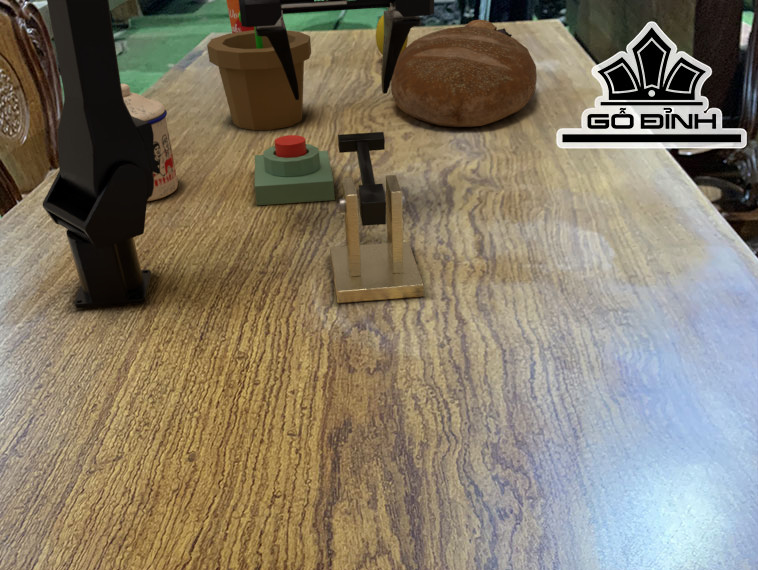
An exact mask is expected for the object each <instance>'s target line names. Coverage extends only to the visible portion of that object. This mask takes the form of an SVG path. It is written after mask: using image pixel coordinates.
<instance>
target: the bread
mask: <svg viewBox="0 0 758 570" xmlns="http://www.w3.org/2000/svg"><path fill="white" fill-rule="evenodd" d="M537 80H538V77H537V65H536V62H535V61H534V59H533V57H532V55H531V53H530V52H529V49H528V48H527V47H526V46H525V45H523V44H522V43H521V42H520V41H518V40H517V39H515V38H514V37H513V36H511V37H510V36H508V35H506V34H504V33H502V32H500V31H496V30H492V29H488V28H483V27H474V26H470V27H464V26H457V27H456V26H455V27H447V28H443V29H440V30H436V31H433V32H430V33H428V34H425V35H423V36H421V37H419V38H417V39H414V40H412V42H411V43H409V44H407V46H406V48H405V49H404V50H403V51H402V52H401V53H400V55H399V57H398V60H397V63H396V67H395V70H394V73H393V76H392V79H391V82H390V90H391V95H392V97H393V100H394V102H395V103H396V105H397V107H398V108H399V109H400V110H401V111H402V112H404V113H405V114H406V115H409V116H410V117H413V118H414V119H417V120H420V121H423V122H426V123H428V124H432V125H435V126H439V127H450V128H473V127H481V126H486V125H490V124H492V123H496V122H498V121H500V120H503V119H505V118H507V117H509V116H511V115H513V114H515V113H517V112H519V111H522V109H523V108H525V107H526V106H527V104H528V103H529V101H531V99H532V97H533V96H534V94H535V93H536V88H537Z"/></svg>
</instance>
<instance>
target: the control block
mask: <svg viewBox="0 0 758 570" xmlns="http://www.w3.org/2000/svg"><path fill="white" fill-rule="evenodd" d="M306 152H307V154H306V155H304V156H300V157H294V158H283V157H278V156H276V150H275V145H273V146H270V147H268V148H267V149H265V150H264V151H263V154H256V155H254V193H255V201H256V206H267V205H268V206H269V205H270V206H271V205H282V204H283V205H284V204H298V203H299V204H300V203H313V202H325V201H327V202H328V201H335V184H334V177H333V171H332V166H331V162H330V161H331V160H330V156H329V151H328V150H319V147H317V146H314V145H313V144H310V143H306Z"/></svg>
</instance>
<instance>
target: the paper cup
mask: <svg viewBox="0 0 758 570" xmlns="http://www.w3.org/2000/svg"><path fill="white" fill-rule="evenodd" d="M225 1H226V6H227V12H228V19H229V23H230V28H231V33H236V32H244V31H251V30H254V27H243V26H242V25H241V22H240V20H239V12H240V9H239V0H225Z"/></svg>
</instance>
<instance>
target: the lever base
mask: <svg viewBox="0 0 758 570" xmlns="http://www.w3.org/2000/svg"><path fill="white" fill-rule="evenodd" d="M341 181H342V182H341V183H342V198H339V199H338V207H339V215H340V216H343V217H344V229H345V230H344V232H345V246H344V245H343V246H329V254H330V263H331V269H332V276H333V283H334V287H335V296H336V301H337V304H347V303H359V302H370V301H371V302H372V301H383V300H396V299H397V300H399V299H410V298H423V297H424V283H423V280H422V275H421V274H420V270H419V267H418V265H417V261H416V259H415V256H414V253H413V251H412V247H411V244H410V241H404V228H403V227H404V223H403V221H404V219H403V211H406V208H407V201H406V195H405V194H404V193H403V191H402V187H401V185H400V182H399V180H398V176H397V174H389V175H385V199H386V242H384V243H370V244H369V243H368V244H361V243H360V226H359V225H360V224H359V202H358V194H357V189H356V185H355V180H354V178H353V177H348V178H347V177H345V178H342V179H341Z"/></svg>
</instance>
